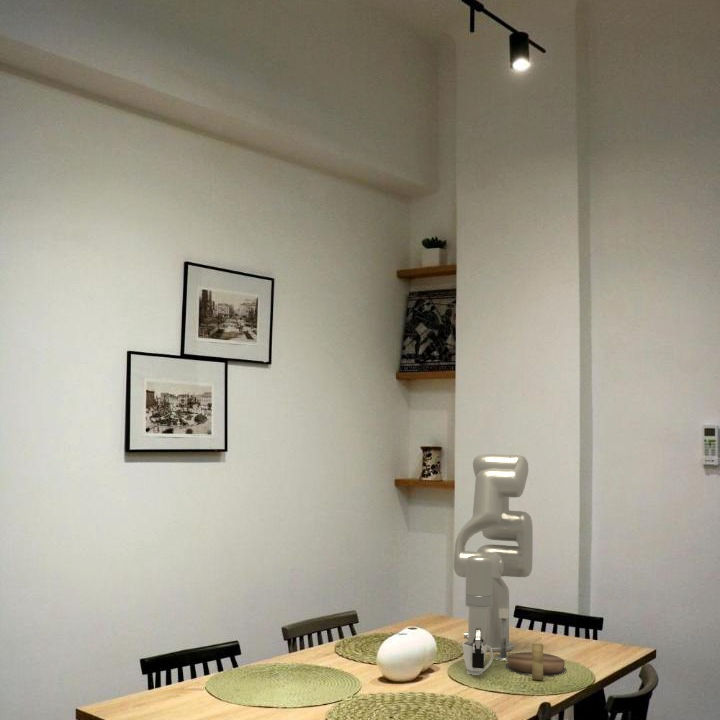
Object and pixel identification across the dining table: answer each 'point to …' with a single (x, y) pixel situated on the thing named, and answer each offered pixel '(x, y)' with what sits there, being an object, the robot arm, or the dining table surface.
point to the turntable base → (531, 674)
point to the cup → (468, 658)
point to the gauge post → (503, 632)
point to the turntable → (535, 662)
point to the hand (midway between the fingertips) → (478, 663)
